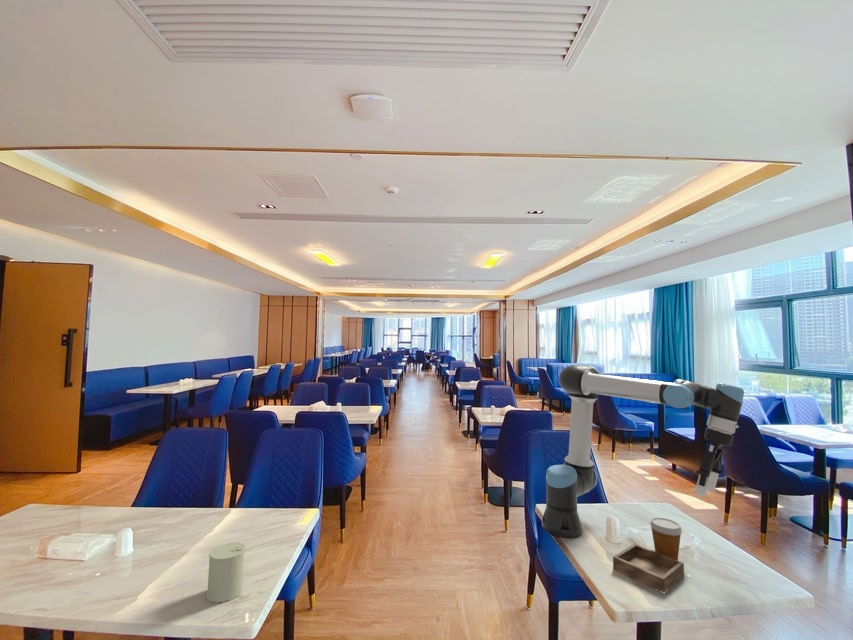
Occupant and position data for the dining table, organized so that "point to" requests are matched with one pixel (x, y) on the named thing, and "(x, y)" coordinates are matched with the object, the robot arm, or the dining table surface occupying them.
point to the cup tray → (648, 567)
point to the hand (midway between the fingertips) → (704, 493)
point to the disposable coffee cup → (666, 537)
